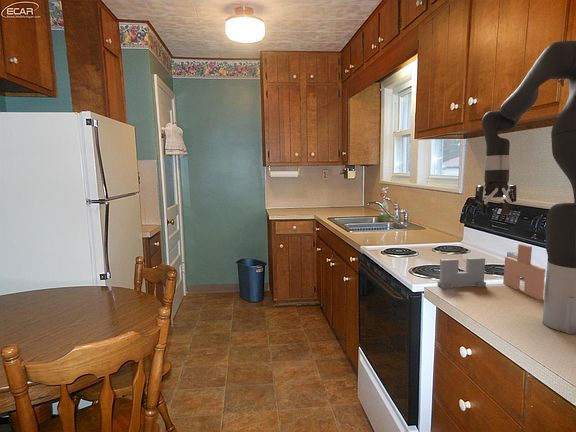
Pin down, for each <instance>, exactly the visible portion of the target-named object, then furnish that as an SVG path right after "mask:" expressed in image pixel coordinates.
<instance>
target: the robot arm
mask: <svg viewBox="0 0 576 432" xmlns="http://www.w3.org/2000/svg"><path fill="white" fill-rule="evenodd" d="M529 69H530V70H528V72H527V74H526V75H525V77H524V78H523V80H522V82H521V83H520V84H519V86H518V87H517V88H516V89H515V90H514V91H513V92H512V93H511V94H510V95H509V96H508V97H507V99H506V100H504V101H503V102H502V104H501V106H500V108H499V110H491V111H490V110H489V111H487V112H486V113H485V114H484V115H483V116H482V119H481V128H482V131H483V136H484V139H485V145H486V149H485V150H486V151H485V161H484V177H483V178H484V179H483V181H484V183H485V184H484V185H476V187H475V196H474V202H475V203H478V204H479V213H480V214H481V215H483V216H487V214H488V203H489V202H490V201H491V200H492V198H499V199H501V200H502V201H503V203H502V204H503V205H502V214H503V215H509V214H510V213H511V204H512V203H516V201H517V185H516V184H509V185H508V183H509V181H510V167H511V165H510V164H511V162H510V161H511V159H510V149H511V148H510V147H511V145H510V144H511V141H510V140H509V139H508V138H506V137H505V138H504V137H501V136H499V134H498V132H503V133H505V132H509V131H510V132H511V130H514V129H515V128H516V127H517V124H518V123H519V121H520V120H521V118H522V116H523V115H524V114H525V113H526V112H528V111H529V110H530V109H531V108H532V107H533V106H534V105H535V103H537V100H538V97H539V88H540V87H541V86H542V85H543V84H544V83H546V82H548V81H549V80H568V85H569V87H568V88H569V89H568V97H567V101H566V103H565V105H564V107H563V109H562V110H561V111H560V113H559V115H558V116H557V118H556V120H555V121H554V123H553V126H552V127H551V131H550V132H551V133H550V134H551V135H550V137H551V152H552V157H553V159H554V161H555V162H556V164H557V165H558V167H559V168H560V169H561V171H562V172H563V173H564V174H565V176H566V177H567V179H568V181H569V182H570V185H571V188H572V192H573V202H563V203H562V202H560V203H555V204H554V205H552V206H551V207H550V208H549V210H548V212H547V216H546V221H545V222H546V223H545V251H546V254H547V265H546V272H545V276H546V277H545V284H544V295H543V299H544V300H543V311H542V324H543V325H545V326H546V327H549V328H550V329H553V330H556V331H559V332H563V333H566V334H568V335H571V334H572V335H573V334H576V40H560V41H555V42H553V43H551V44H549V45H548V46H547V47H546V48H545V49H544V50H543V51H542V52H541V54H540V55H539V57H538V58H537V59H536V60H535V62H534V64H533V65H532V67H531V68H529Z"/></svg>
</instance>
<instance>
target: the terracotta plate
mask: <svg viewBox="0 0 576 432" xmlns="http://www.w3.org/2000/svg"><path fill="white" fill-rule="evenodd" d="M532 251H533V247H532V246H530V245H527V244H524V243H519V244H518V247H517V252H518V258H517V259H514V258H511V257H507V256H505V257H504V268H503V269H504V270H503V283H502V284H504V285H506V286H508V287H509V288H511V289H514V290H520V286H521V279H524V286H523V287H524V290H523V292H524V293H523V294H525V295H527V296H530V297H532V298H533V299H536V300H538V301H539V300H543V299H544V292H545V280H546V277H545V276H546V269H545V268H542V267H540V266H537V265H533V264H532V263H531V262H532ZM520 277H522V278H520Z"/></svg>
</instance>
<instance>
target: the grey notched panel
mask: <svg viewBox="0 0 576 432" xmlns="http://www.w3.org/2000/svg"><path fill="white" fill-rule="evenodd" d="M459 262H460V259H458V258H447V259H446V258H445V259H444V258H442V259H440V260H439V280H438V281H437V286H438V287H440V288H441V289H443V290H447V289H448V290H449V289H452V288H462V287H463V288H464V287H477V288H481V287H483V288H486V287H487V281H485V267H486V258H485V257H466V262H465V263H466V264H465V265H466V266H465V271H459V265H460V263H459Z"/></svg>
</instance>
